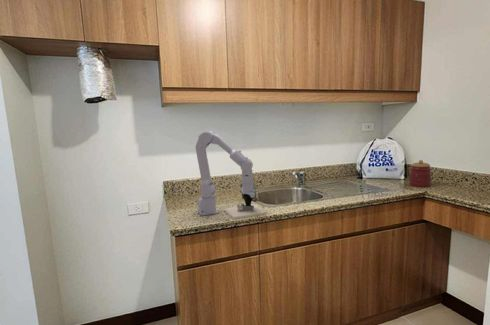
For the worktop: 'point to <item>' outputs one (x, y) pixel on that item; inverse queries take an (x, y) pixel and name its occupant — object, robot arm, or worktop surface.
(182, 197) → the worktop surface
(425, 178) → the canister
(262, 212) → the dial panel
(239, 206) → the dial lever
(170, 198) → the worktop surface
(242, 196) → the food container
